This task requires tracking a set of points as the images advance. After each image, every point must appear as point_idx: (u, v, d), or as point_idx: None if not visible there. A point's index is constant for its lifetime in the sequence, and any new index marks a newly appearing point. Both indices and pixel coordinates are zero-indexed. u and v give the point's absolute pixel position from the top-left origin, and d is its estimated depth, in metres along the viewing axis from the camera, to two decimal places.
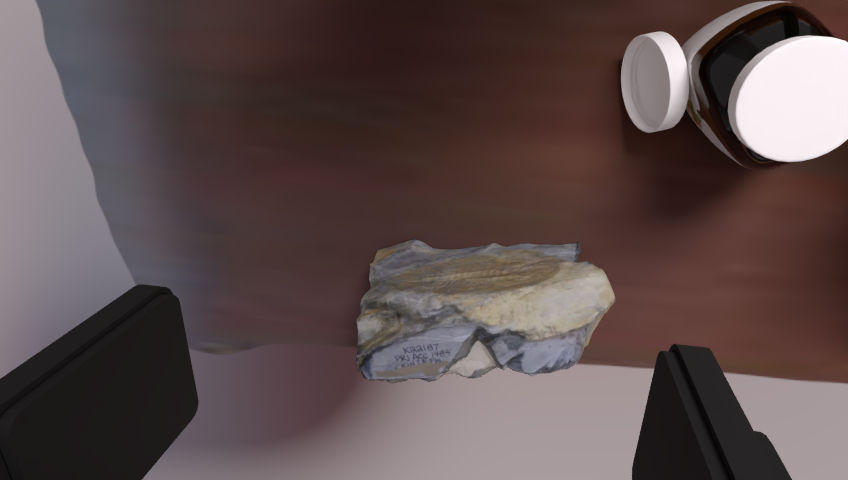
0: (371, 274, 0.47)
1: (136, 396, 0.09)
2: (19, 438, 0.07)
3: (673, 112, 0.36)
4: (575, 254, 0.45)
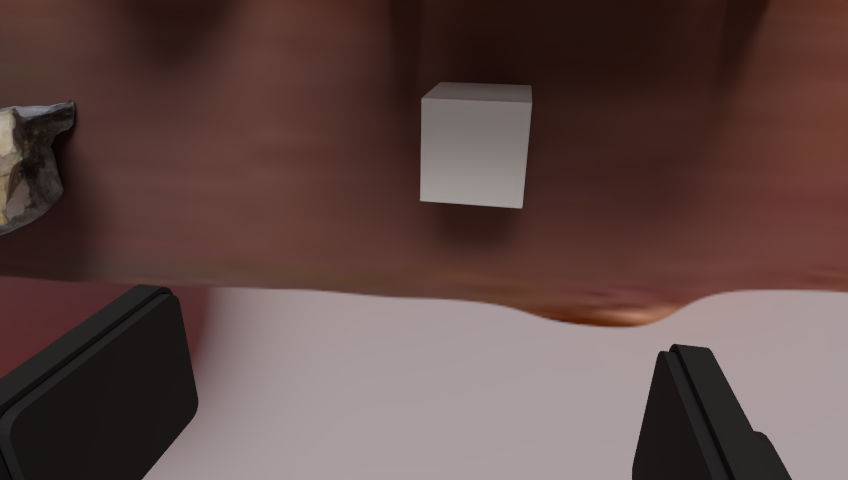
0: None
1: (136, 396, 0.09)
2: (19, 438, 0.07)
3: None
4: (46, 111, 0.33)
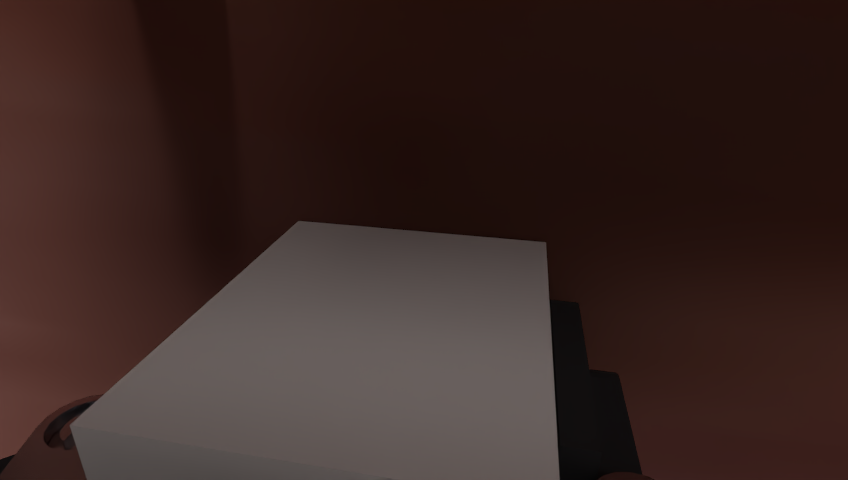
0: None
1: None
2: None
3: None
4: None
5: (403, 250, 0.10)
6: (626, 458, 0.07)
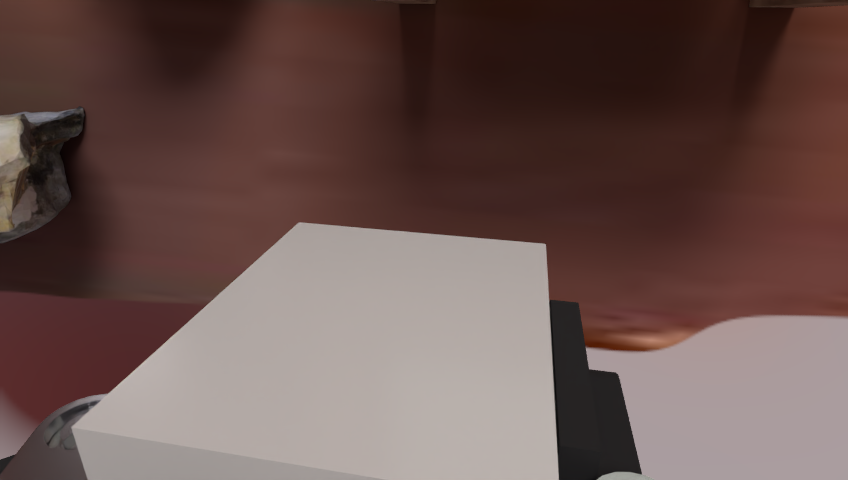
0: None
1: None
2: None
3: None
4: (55, 117, 0.33)
5: (403, 252, 0.10)
6: (626, 458, 0.07)
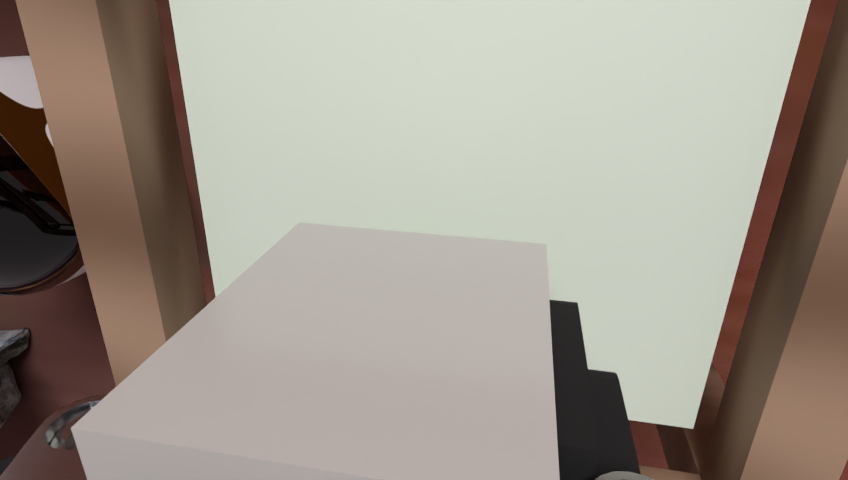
0: None
1: None
2: None
3: None
4: None
5: (403, 252, 0.10)
6: (625, 457, 0.07)
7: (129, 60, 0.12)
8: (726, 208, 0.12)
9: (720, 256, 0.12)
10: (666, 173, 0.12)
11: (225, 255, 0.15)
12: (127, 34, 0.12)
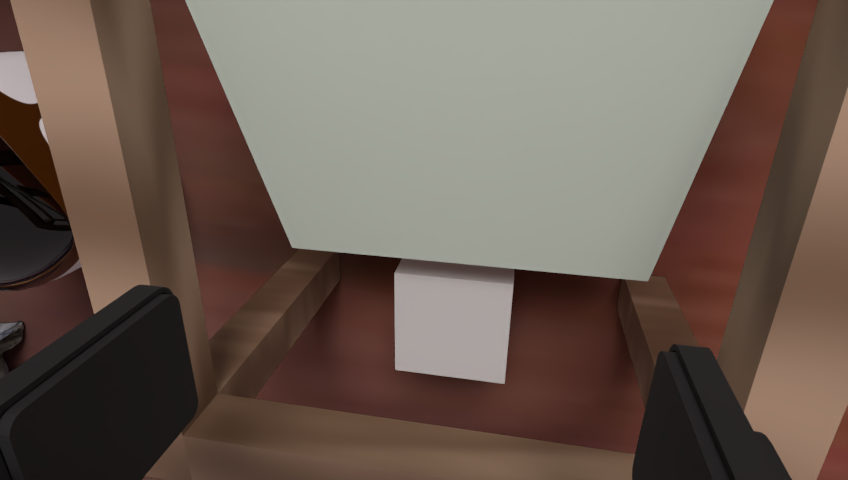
0: None
1: (136, 396, 0.09)
2: (19, 438, 0.07)
3: None
4: None
5: None
6: None
7: (122, 53, 0.12)
8: (684, 149, 0.14)
9: (677, 181, 0.15)
10: (636, 127, 0.14)
11: (277, 182, 0.18)
12: (120, 27, 0.12)
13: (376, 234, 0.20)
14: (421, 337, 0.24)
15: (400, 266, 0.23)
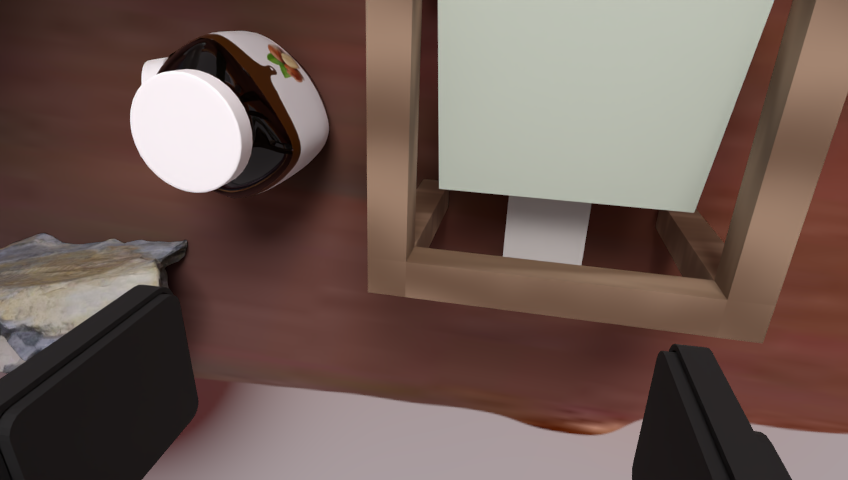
0: None
1: (136, 396, 0.09)
2: (19, 438, 0.07)
3: None
4: (170, 252, 0.45)
5: None
6: None
7: (415, 25, 0.23)
8: (722, 101, 0.24)
9: (717, 125, 0.25)
10: (694, 85, 0.24)
11: (447, 129, 0.28)
12: (416, 11, 0.23)
13: (506, 174, 0.29)
14: (524, 234, 0.34)
15: None
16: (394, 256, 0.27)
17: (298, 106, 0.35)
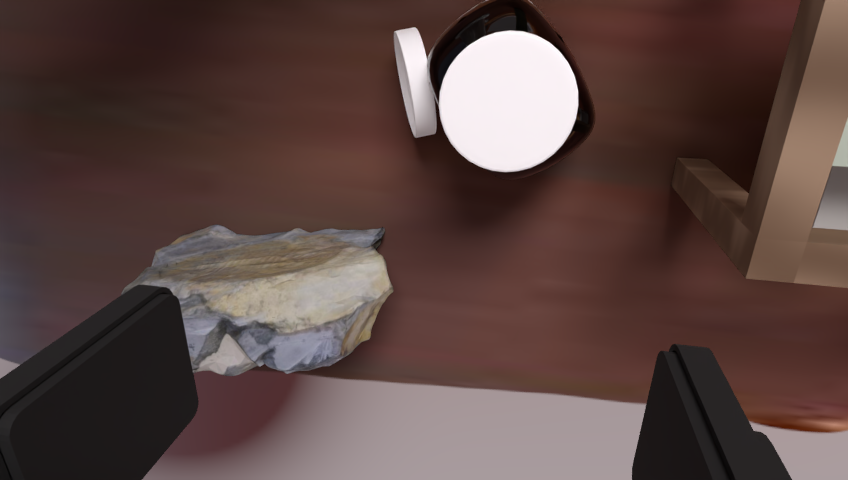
0: (154, 261, 0.42)
1: (136, 396, 0.09)
2: (19, 438, 0.07)
3: (422, 116, 0.33)
4: (373, 240, 0.41)
5: None
6: None
7: None
8: None
9: None
10: None
11: None
12: None
13: None
14: (841, 212, 0.30)
15: None
16: (793, 236, 0.23)
17: None
